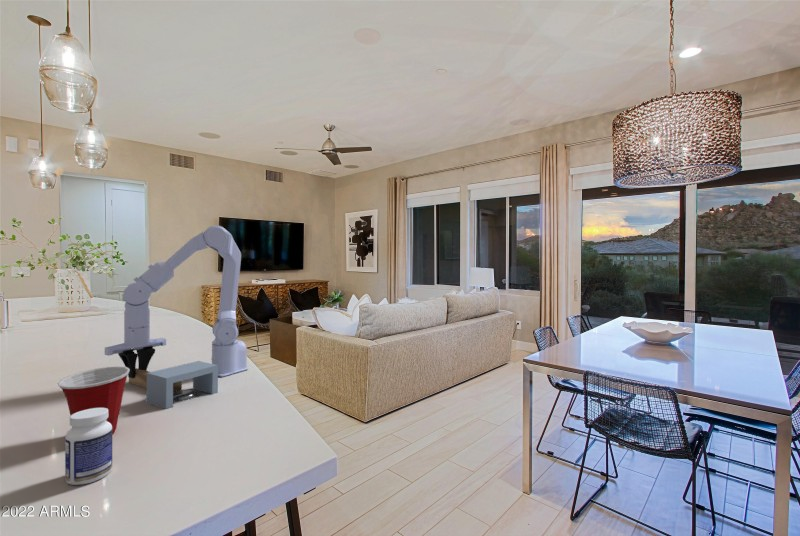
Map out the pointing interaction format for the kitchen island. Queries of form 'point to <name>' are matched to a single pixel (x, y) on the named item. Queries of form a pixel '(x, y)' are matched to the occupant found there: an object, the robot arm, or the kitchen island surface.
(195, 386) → the low shelf
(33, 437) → the kitchen island surface
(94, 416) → the pill bottle
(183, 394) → the steel token
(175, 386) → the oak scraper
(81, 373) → the plastic cup
